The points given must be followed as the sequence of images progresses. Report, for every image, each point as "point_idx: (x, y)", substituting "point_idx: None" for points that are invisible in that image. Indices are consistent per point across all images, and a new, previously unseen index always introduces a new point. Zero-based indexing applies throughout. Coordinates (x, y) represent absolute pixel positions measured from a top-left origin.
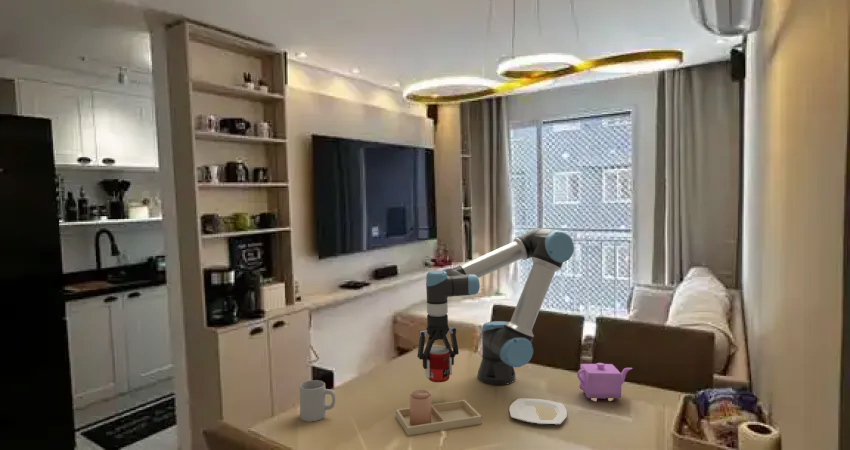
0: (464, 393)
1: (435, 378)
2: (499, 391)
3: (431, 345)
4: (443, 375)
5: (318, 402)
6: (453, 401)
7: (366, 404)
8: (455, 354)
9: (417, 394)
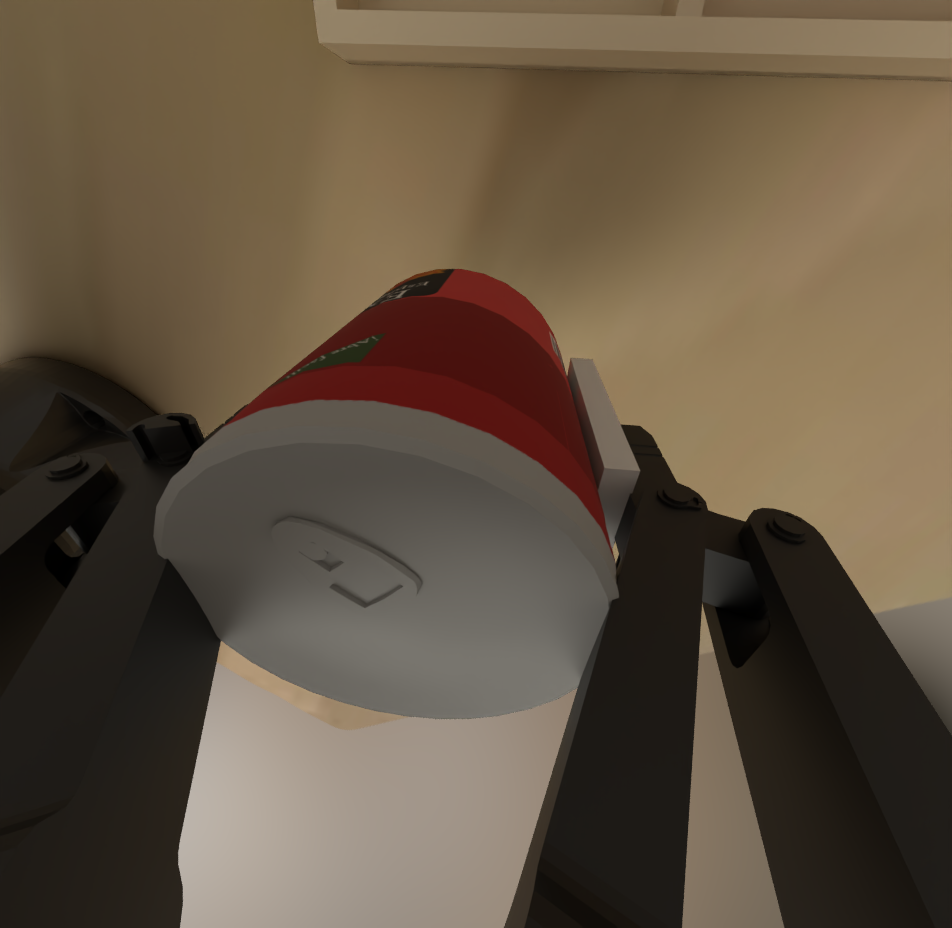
0: (299, 338)
1: (531, 306)
2: (71, 278)
3: (603, 770)
4: (440, 278)
5: None
6: (437, 36)
7: (922, 424)
8: (129, 470)
9: None
